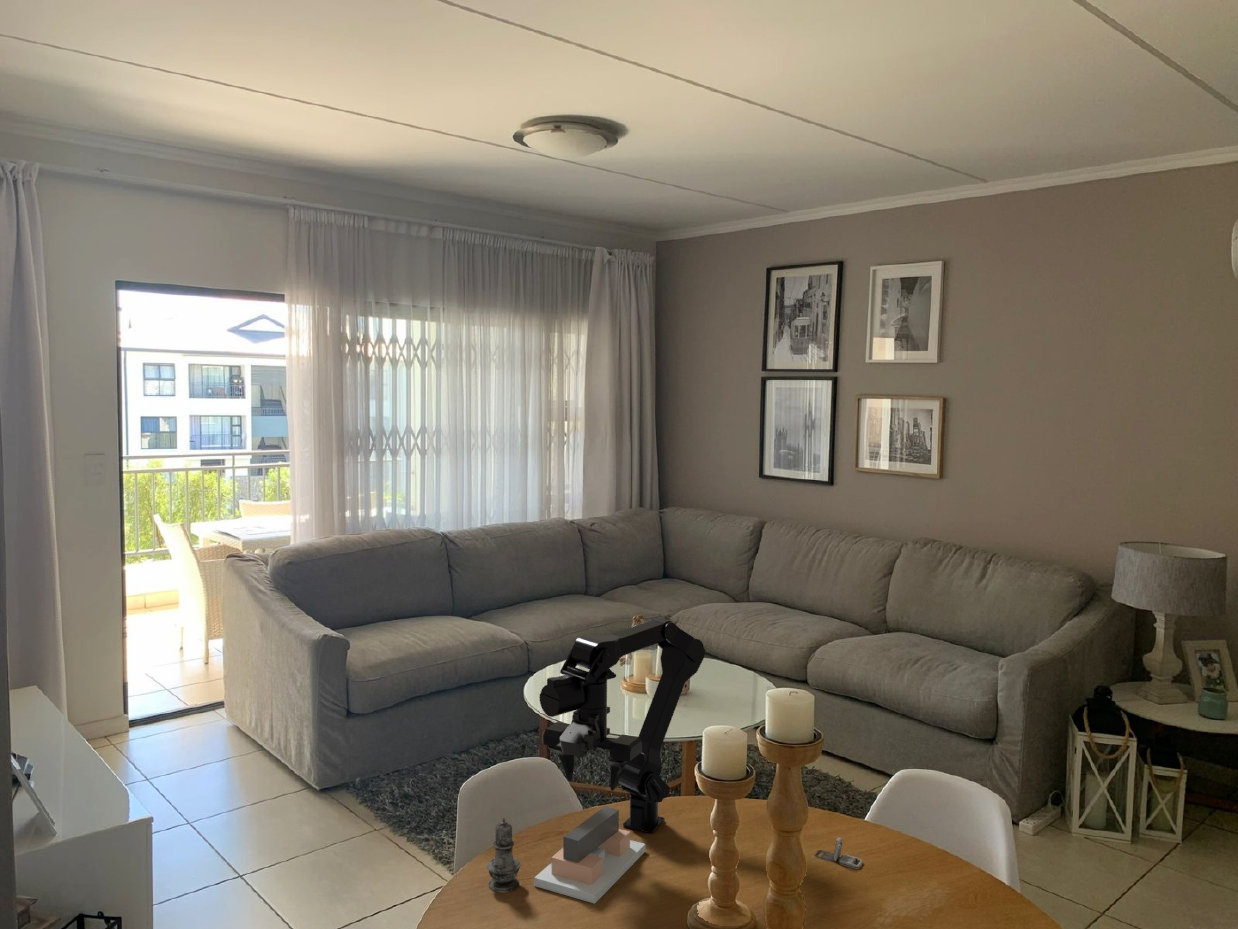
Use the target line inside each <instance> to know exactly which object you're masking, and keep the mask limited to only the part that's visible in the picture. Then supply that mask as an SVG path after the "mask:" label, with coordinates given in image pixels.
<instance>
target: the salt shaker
mask: <svg viewBox="0 0 1238 929" xmlns="http://www.w3.org/2000/svg"><path fill="white" fill-rule="evenodd" d="M492 844H493V845H492V846H493V847H494V858H492V859H491V860H489V861H488V862H487V864H486V869H487V871H488V874H489V876H490V878H491V880H489V882H488V889H490V890H491V891H493V892H494V893H501V894H502V893H510V892H513V891H515V890H516V889H518V887H519V886H520V881H519V880H518V879H517V878H516V877H517V875H518V873H519V870H520V869H521V866H522V865H521V861H520V859H518V858H516V857H514V855H513V847H514V845H515V841H514V840H513V826H512V824H511V823H510V822H507V820H506V819H505V818H504V817H503V818H502V819H501V821H500V822H499V823H497V824H496V826H495V841H494V842H493V843H492Z"/></svg>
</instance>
